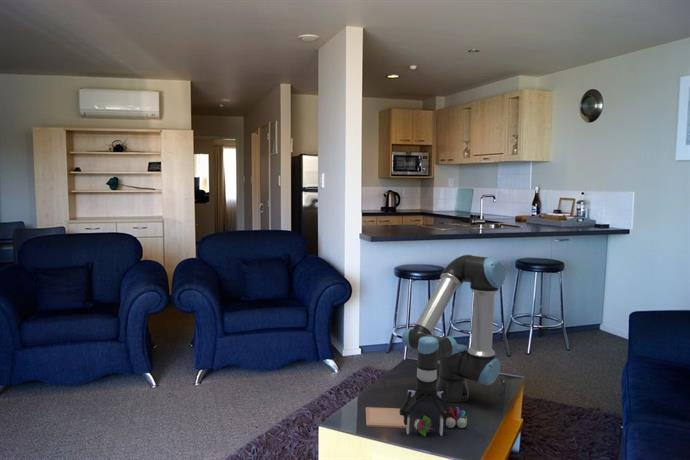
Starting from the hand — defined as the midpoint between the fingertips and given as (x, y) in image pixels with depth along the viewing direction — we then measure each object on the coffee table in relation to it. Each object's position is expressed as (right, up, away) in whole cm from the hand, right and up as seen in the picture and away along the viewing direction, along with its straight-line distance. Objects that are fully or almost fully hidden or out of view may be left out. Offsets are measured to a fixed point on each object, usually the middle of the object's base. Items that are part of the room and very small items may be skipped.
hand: (424, 433), depth 203 cm
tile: (-14, +1, +12) cm, 19 cm away
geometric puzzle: (0, 0, 0) cm, 0 cm away
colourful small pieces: (+13, 0, +9) cm, 16 cm away
